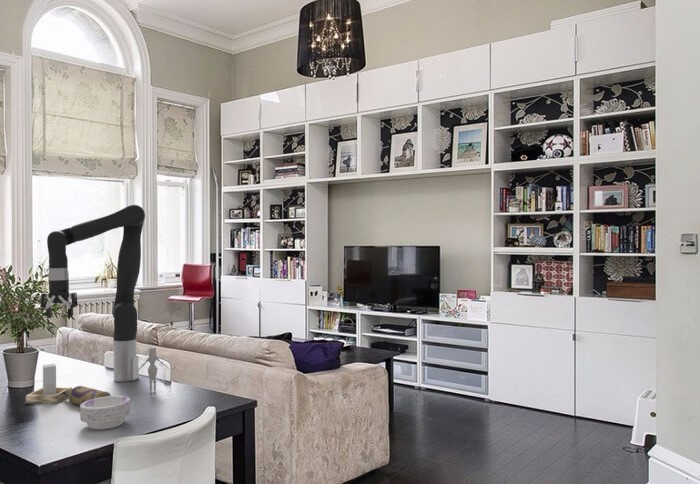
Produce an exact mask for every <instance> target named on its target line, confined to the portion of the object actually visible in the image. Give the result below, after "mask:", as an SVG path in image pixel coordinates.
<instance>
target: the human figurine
mask: <svg viewBox="0 0 700 484" xmlns="http://www.w3.org/2000/svg"><path fill="white" fill-rule="evenodd" d="M157 361H158V362H159V363H160V364H161V365H163V367H166V368H167V369H169V367H168V366H167V365H166V364H165V363H164V362H163V361H161V359H159V357H158V356H157V348H156V347H149V349H148V357H147V359H146V360H145V361H144V362H143V363H142V364H141V365H140V366H139V367H138V368H139V369H138V371H140V369H142V368H143V367H144V366H145V365H146V364H147V363H148V362H149V365H148V367H147V374H148V378H149V382H148V383H149V394H150V395H152V394H154V395H155V394H156V393H157V390H156V389H157V380H156V379H157V374H158V367H157V365H156V364H155V363H156V362H157ZM138 371H137V372H138ZM152 389H153V390H154V391H152Z"/></svg>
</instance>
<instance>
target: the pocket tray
mask: <svg viewBox="0 0 700 484" xmlns="http://www.w3.org/2000/svg"><path fill="white" fill-rule="evenodd" d="M66 389H73V387H70V386H68V387H67V386H65V387H63V386H62V387H59V386H56V395H43V386H42V387H41V388H38V389H36V390H34V391H32V392H30V393H28V394H26V395H25V404H29V405H30V404H32V405H33V404H36V405H37V404H41V405H42V404H58V403H60V402H62V401H64V400H65V399H68V397H67V396H65V394H64V393H63V392H64V391H65V390H66Z"/></svg>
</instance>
